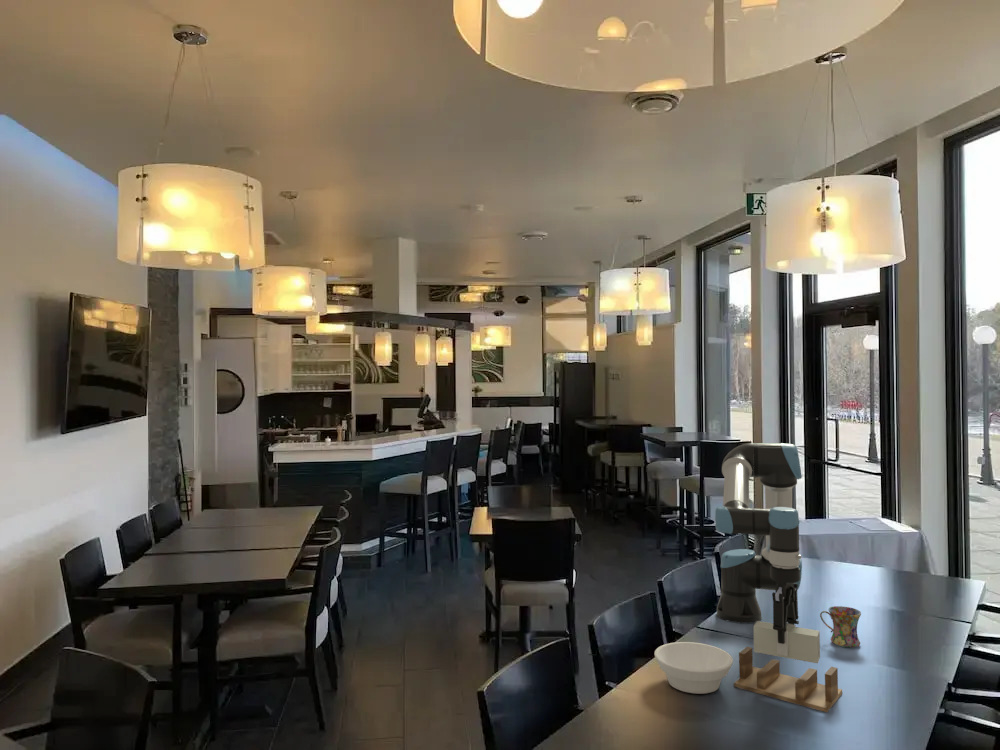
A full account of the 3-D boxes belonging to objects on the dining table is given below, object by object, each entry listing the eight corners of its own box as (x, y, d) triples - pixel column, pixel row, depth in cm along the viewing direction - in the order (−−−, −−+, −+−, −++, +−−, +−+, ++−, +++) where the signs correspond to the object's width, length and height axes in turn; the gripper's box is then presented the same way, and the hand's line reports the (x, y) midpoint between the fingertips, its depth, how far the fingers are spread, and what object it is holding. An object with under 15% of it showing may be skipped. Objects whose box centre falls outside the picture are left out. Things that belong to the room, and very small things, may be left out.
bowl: (722, 709, 176) (722, 677, 176) (643, 691, 187) (643, 661, 187) (741, 679, 193) (741, 650, 194) (668, 664, 205) (668, 636, 205)
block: (753, 651, 188) (753, 626, 188) (757, 646, 193) (757, 620, 193) (817, 663, 180) (817, 636, 180) (820, 657, 184) (819, 630, 184)
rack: (733, 686, 189) (733, 657, 189) (752, 670, 199) (752, 642, 199) (827, 712, 173) (826, 680, 173) (842, 693, 184) (841, 663, 184)
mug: (864, 643, 219) (864, 609, 219) (858, 652, 212) (857, 617, 212) (824, 635, 226) (823, 602, 227) (816, 643, 219) (816, 610, 219)
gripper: (787, 574, 177) (789, 665, 177) (809, 560, 191) (811, 644, 191) (758, 570, 182) (760, 658, 182) (782, 556, 196) (783, 638, 196)
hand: (786, 651), depth 186 cm, fingers closed on block, 5 cm apart
